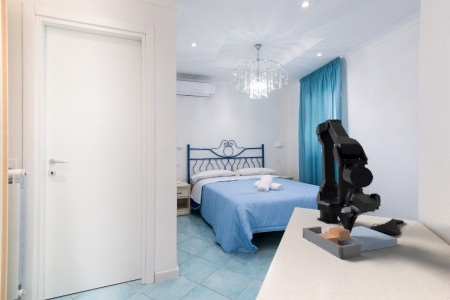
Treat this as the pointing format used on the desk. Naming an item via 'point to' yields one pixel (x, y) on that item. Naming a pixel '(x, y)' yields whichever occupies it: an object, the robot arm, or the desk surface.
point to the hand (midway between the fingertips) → (348, 232)
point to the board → (368, 239)
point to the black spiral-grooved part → (388, 227)
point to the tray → (331, 244)
